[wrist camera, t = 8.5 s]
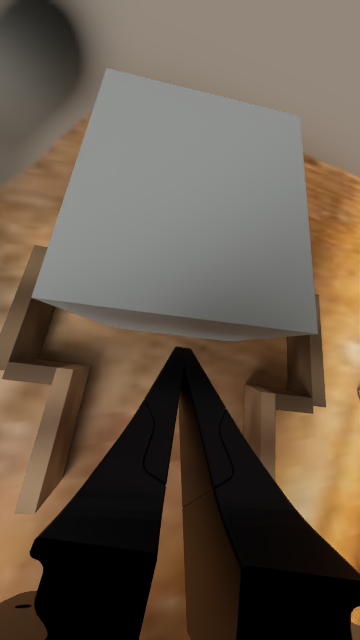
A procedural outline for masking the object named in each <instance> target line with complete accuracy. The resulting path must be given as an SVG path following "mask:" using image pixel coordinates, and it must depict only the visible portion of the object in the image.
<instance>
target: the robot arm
mask: <svg viewBox="0 0 360 640" xmlns="http://www.w3.org/2000/svg"><path fill="white" fill-rule="evenodd" d="M178 403H179V429H180V456H181V483H182V507H183V509H182V511H183V538H184V564H185V591H186V617H187V632H188V634H189V636H190V638H191V640H360V626H359V625H356V624H354V623H351V612H352V611H353V609H354V608H356V607H358V606H360V573H359V572H358V571H357V570H356V569H355V568H354V567H353V566H352V565H350V564H349V563H348V562H347V561H346V560H345V559H344V558H343V557H342V556H341V555H340V554H339V553H338V552H337V551H336V550H335V549H334V548H333V547H332V546H331V545H330V544H329V543H328V542H326V541H325V540H324V539H323V538H322V537H321V536H320V535H319V534H318V533H317V532H316V531H315V530H314V529H313V528H312V527H311V526H310V525H309V524H308V523H307V521H306V520H305V519H304V518H303V517H302V516H301V515H300V514H299V512H298V511H297V510H296V509H295V508H294V506H293V505H292V504H291V503H290V501H289V500H288V499H287V497H286V496H285V495H284V493H283V492H282V490H281V489H280V488H279V486H278V485H277V483H276V482H275V480H274V479H273V478H272V476H271V475H270V473H269V472H268V471H267V469H266V468H265V466H264V465H263V464H262V462H261V461H260V459H259V458H258V456H257V455H256V454H255V452H254V451H253V449H252V448H251V446H250V445H249V444H248V442H247V441H246V439H245V438H244V436H243V435H242V433H241V432H240V430H239V429H238V427H237V425H236V424H235V422H234V420H233V419H232V417H231V416H230V414H229V412H228V410H227V409H226V407H225V405H224V404H223V402H222V400H221V399H220V397H219V395H218V394H217V392H216V390H215V389H214V387H213V385H212V384H211V382H210V380H209V378H208V377H207V375H206V373H205V372H204V370H203V368H202V367H201V365H200V363H199V362H198V360H197V358H196V357H195V355H194V353H193V351H192V350H191V349H190V348H182V347H175V348H174V350H173V352H172V353H171V355H170V357H169V358H168V360H167V362H166V364H165V365H164V367H163V369H162V370H161V372H160V374H159V375H158V377H157V379H156V380H155V382H154V384H153V385H152V387H151V389H150V390H149V392H148V394H147V395H146V397H145V399H144V400H143V402H142V404H141V405H140V407H139V409H138V410H137V412H136V413H135V415H134V417H133V418H132V420H131V421H130V423H129V424H128V426H127V427H126V428H125V430H124V431H123V433H122V434H121V435H120V437H119V438H118V439H117V441H116V442H115V443H114V445H113V446H112V447H111V449H110V450H109V451H108V453H107V454H106V455H105V457H104V458H103V459H102V461H101V462H100V463H99V465H98V466H97V467H96V469H95V470H94V471H93V473H92V474H91V475H90V477H89V478H88V479H87V481H86V482H85V483H84V484H83V486H82V487H81V488H80V490H79V491H78V492H77V493H76V494H75V496H74V497H73V498H72V499H71V501H70V502H69V503H68V504H67V505H66V506H65V508H64V509H63V510H62V511H61V512H60V513H59V515H58V516H57V517H56V518H55V519H54V520H53V521H52V522H51V523H50V524H49V525H48V526H47V527H46V528H45V529H44V530H43V531H42V532H41V534H40V535H39V536H38V537H37V538H36V539H35V540H34V543H33V545H32V548H31V550H30V556H31V557H32V558H34V559H36V560H39V561H40V562H41V564H42V566H43V574H42V578H41V581H40V584H39V587H38V590H37V591H30V592H24V593H20V594H18V595H15V596H13V597H11V598H9V599H7V600H5V601H3V602H1V603H0V640H139V636H140V632H141V627H142V623H143V618H144V614H145V610H146V605H147V601H148V597H149V592H150V588H151V583H152V579H153V575H154V570H155V566H156V561H157V554H158V545H159V536H160V527H161V519H162V511H163V503H164V496H165V489H166V486H165V485H166V483H167V476H168V469H169V463H170V456H171V449H172V443H173V436H174V429H175V423H176V416H177V409H178Z"/></svg>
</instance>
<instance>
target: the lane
mask: <svg viewBox="0 0 360 640" xmlns="http://www.w3.org/2000/svg"><path fill="white" fill-rule="evenodd" d="M47 248H48V247H42V246H36V245H35V246H34V248H33V251H32V253H31V256H30V259H29V261H28V264H27V266H26V269H25V272H24V274H23V277H22V279H21V282H20V285H19V287H18V290H17V292H16V295H15V298H14V300H13V303H12V305H11V308H10V310H9V313H8V316H7V318H6V321H5V323H4V326H3V329H2V331H1V334H0V370H5V372H4V375H3V378H2V379H6V380H15V381H24V382H33V383H42V384H51V385H52V386H51V389H50V393H49V396H48V399H47V403H46V406H45V410H44V413H43V416H42V420H41V423H40V427H39V430H38V434H37V437H36V440H35V444H34V447H33V451H32V454H31V457H30V461H29V464H28V468H27V471H26V475H25V478H24V481H23V485H22V488H21V492H20V495H19V499H18V502H17V505H16V509H15V512H14V513H17V514H35V513H36V512H37V510H38V509H39V508H40V507H41V505H42V504H43V503H44V502H45V500H46V499H47V498H48V496H49V495H50V494H51V493H52V491H53V490H54V489H55V488H56V486H57V485H58V484H59V482H60V481H61V480H62V478H63V474H64V470H65V466H66V462H67V458H68V454H69V450H70V446H71V442H72V438H73V434H74V430H75V426H76V422H77V418H78V414H79V410H80V406H81V402H82V398H83V394H84V390H85V386H86V382H87V378H88V374H89V369H90V365H82V364H74V363H66V362H58V361H50V360H41V359H38V358H39V355H40V351H41V348H42V345H43V342H44V339H45V336H46V333H47V330H48V327H49V323H50V320H51V317H52V314H53V311H54V308H55V306H53V305H50V304H48V303H45V302H42V301H39V300H37V299H34V298H31V297H32V294H33V291H34V288H35V285H36V282H37V279H38V276H39V273H40V270H41V267H42V264H43V261H44V258H45V254H46V251H47ZM315 304H316V316H317V328H318V334H311V335H300V336H288V337H287V359H288V390H287V389H279V388H270V387H262V386H254V385H246V384H245V399H244V425H243V436H244V438H245V439H246V441H247V442H248V444H249V445H250V446H251V448H252V449H253V451H254V452H255V454H256V455H257V456H258V458H259V459H260V461H261V462H262V464H263V465H264V466H265V468H266V469H267V471H268V472H269V473H270V475H271V476H272V478H273V479H274V480H275V409H276V410H285V411H294V412H303V413H312V414H313V406H319V407H326V399H325V384H324V369H323V354H322V338H321V323H320V308H319V295H317V294H315Z"/></svg>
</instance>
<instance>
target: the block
mask: <svg viewBox="0 0 360 640" xmlns="http://www.w3.org/2000/svg"><path fill="white" fill-rule="evenodd" d="M31 298H34V299H37V300H39V301H42V302H45V303H48V304H50V305H53V306H56V307H58V308H61V309H64V310H66V311H69V312H72V313H75V314H77V315H80V316H83V317H85V318H88V319H91V320H93V321H96V322H99V323H102V324H104V325H107V326H110V327H112V328H119V329H127V330H136V331H144V332H153V333H162V334H170V335H179V336H187V337H196V338H204V339H213V340H222V341H230V342H231V341H242V340H254V339H265V338H277V337H288V336H300V335H311V334H318V328H317V316H316V304H315V292H314V280H313V268H312V256H311V244H310V232H309V220H308V208H307V196H306V184H305V172H304V160H303V148H302V136H301V124H300V116H296V115H292V114H288V113H284V112H280V111H276V110H273V109H269V108H265V107H261V106H256V105H253V104H249V103H245V102H240V101H236V100H232V99H228V98H225V97H221V96H217V95H213V94H208V93H204V92H201V91H197V90H193V89H189V88H184V87H181V86H177V85H172V84H168V83H165V82H160V81H156V80H153V79H149V78H144V77H141V76H137V75H132V74H128V73H125V72H121V71H117V70H112V69H109V68H107V70H106V73H105V76H104V79H103V82H102V85H101V88H100V91H99V94H98V97H97V100H96V103H95V106H94V109H93V112H92V115H91V118H90V121H89V124H88V127H87V130H86V133H85V136H84V139H83V142H82V145H81V148H80V151H79V154H78V157H77V160H76V163H75V167H74V170H73V173H72V176H71V179H70V182H69V185H68V188H67V191H66V194H65V197H64V200H63V203H62V206H61V209H60V212H59V215H58V218H57V221H56V224H55V227H54V230H53V233H52V236H51V239H50V242H49V245H48V248H47V251H46V254H45V258H44V261H43V264H42V267H41V270H40V273H39V276H38V279H37V282H36V285H35V288H34V291H33V294H32V297H31Z"/></svg>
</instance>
